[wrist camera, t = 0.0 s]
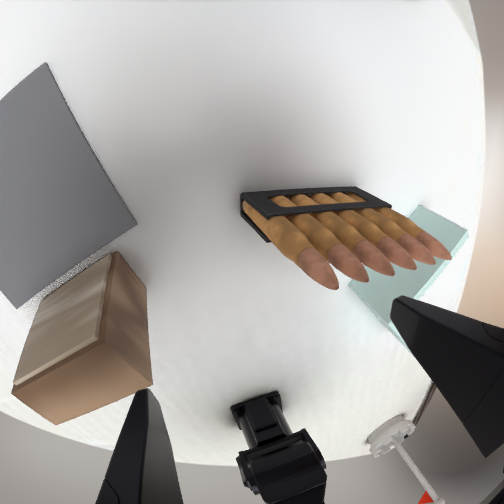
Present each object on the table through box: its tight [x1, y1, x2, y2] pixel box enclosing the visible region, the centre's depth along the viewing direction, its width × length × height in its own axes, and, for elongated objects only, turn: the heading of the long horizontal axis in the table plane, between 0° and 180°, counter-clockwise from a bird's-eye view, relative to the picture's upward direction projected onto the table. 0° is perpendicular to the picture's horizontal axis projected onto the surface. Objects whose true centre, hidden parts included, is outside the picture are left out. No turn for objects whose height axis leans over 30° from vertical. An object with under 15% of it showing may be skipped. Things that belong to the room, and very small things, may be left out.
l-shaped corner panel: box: [348, 205, 469, 356], centre depth 30 cm, size 12×12×8 cm
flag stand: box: [368, 415, 445, 504], centre depth 49 cm, size 13×13×30 cm
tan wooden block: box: [11, 251, 153, 425], centre depth 17 cm, size 4×9×10 cm, turn 114°
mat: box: [0, 63, 137, 309], centre depth 16 cm, size 14×14×1 cm
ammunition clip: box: [241, 187, 452, 290], centre depth 19 cm, size 11×2×12 cm, turn 89°
